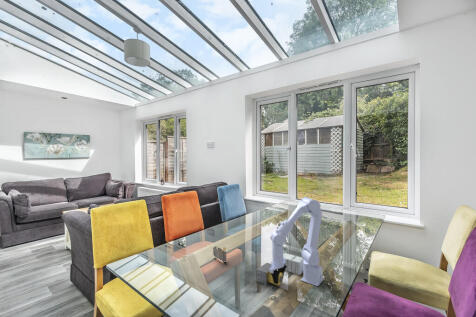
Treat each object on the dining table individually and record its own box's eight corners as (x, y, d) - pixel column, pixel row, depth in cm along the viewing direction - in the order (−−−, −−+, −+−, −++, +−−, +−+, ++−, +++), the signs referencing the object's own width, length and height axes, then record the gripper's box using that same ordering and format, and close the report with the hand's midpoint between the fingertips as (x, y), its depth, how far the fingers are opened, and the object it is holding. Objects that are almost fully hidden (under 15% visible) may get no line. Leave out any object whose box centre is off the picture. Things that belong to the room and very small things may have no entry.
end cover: (283, 282, 118) (283, 273, 118) (279, 286, 115) (278, 277, 115) (266, 275, 125) (266, 267, 125) (262, 279, 121) (262, 270, 121)
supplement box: (285, 252, 139) (304, 257, 131) (285, 264, 139) (305, 270, 131) (279, 256, 133) (300, 262, 125) (279, 269, 133) (300, 275, 125)
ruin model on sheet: (226, 263, 143) (226, 247, 143) (223, 264, 141) (222, 249, 141) (217, 257, 152) (216, 243, 152) (213, 258, 150) (213, 244, 150)
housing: (276, 277, 124) (275, 265, 124) (266, 285, 116) (266, 272, 116) (266, 273, 128) (266, 262, 128) (256, 281, 120) (256, 269, 120)
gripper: (278, 249, 126) (278, 273, 125) (263, 258, 114) (264, 284, 114) (289, 252, 121) (290, 277, 121) (275, 262, 110) (276, 289, 110)
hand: (278, 281), depth 117 cm, fingers closed on end cover, 5 cm apart
